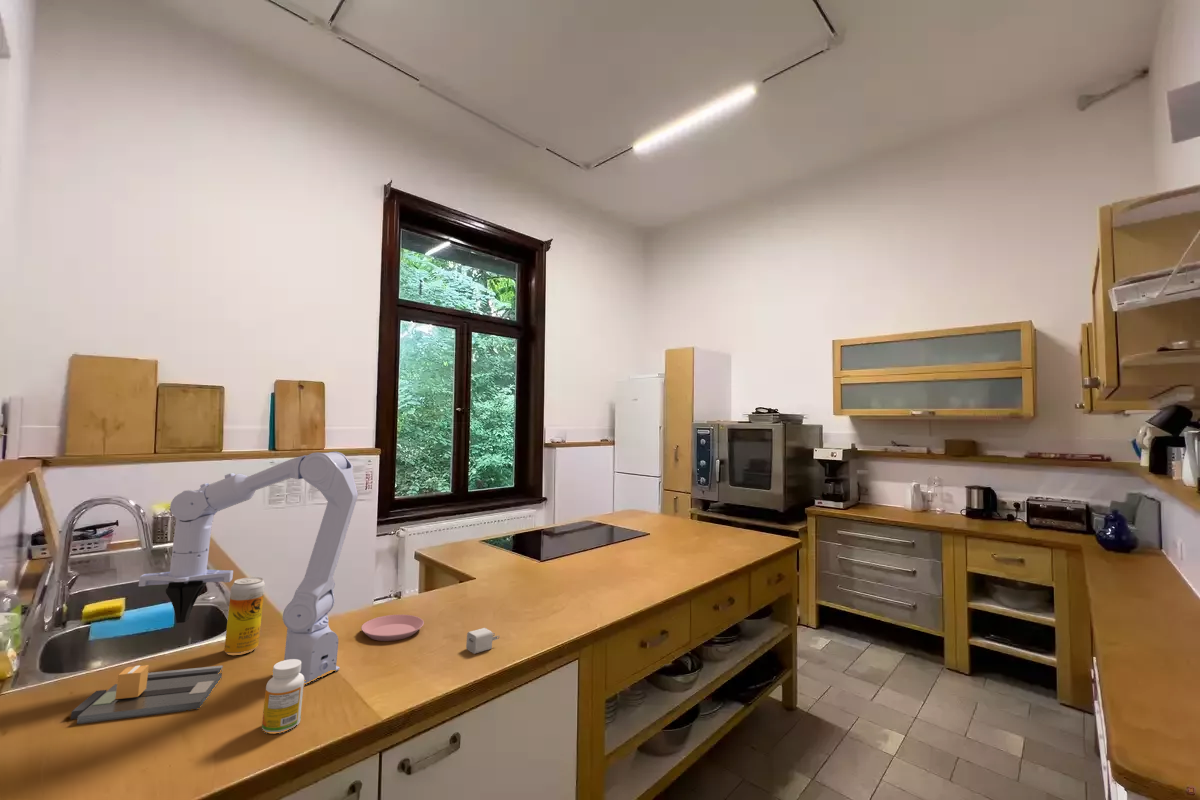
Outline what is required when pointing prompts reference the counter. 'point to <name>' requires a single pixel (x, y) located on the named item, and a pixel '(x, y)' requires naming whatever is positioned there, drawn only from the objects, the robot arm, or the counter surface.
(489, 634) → the usb wall charger
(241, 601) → the beer can
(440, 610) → the counter surface
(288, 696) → the supplement bottle
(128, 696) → the cardboard box
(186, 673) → the flat board
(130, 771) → the counter surface
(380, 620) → the plate
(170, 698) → the panel
